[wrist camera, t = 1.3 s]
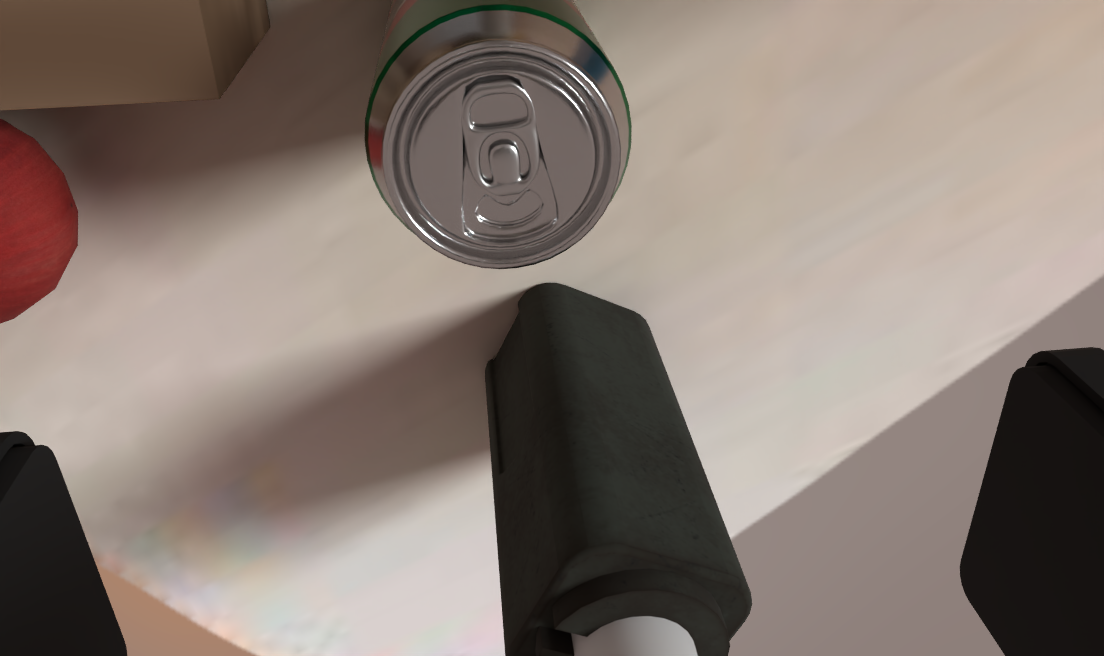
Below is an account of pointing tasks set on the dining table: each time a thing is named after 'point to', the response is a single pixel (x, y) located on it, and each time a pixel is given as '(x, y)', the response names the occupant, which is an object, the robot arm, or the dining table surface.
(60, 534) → the robot arm
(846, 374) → the dining table surface
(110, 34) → the well block
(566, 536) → the black handled stick
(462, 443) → the dining table surface
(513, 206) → the soda can
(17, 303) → the onion
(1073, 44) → the dining table surface
